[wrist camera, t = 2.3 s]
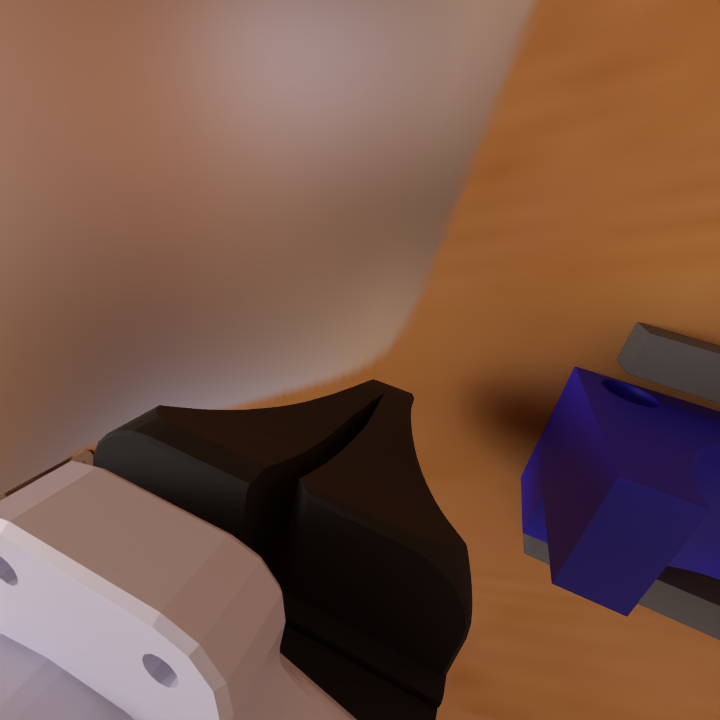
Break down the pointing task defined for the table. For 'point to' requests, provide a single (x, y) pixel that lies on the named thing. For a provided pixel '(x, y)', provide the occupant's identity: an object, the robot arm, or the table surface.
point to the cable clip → (624, 489)
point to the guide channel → (694, 376)
